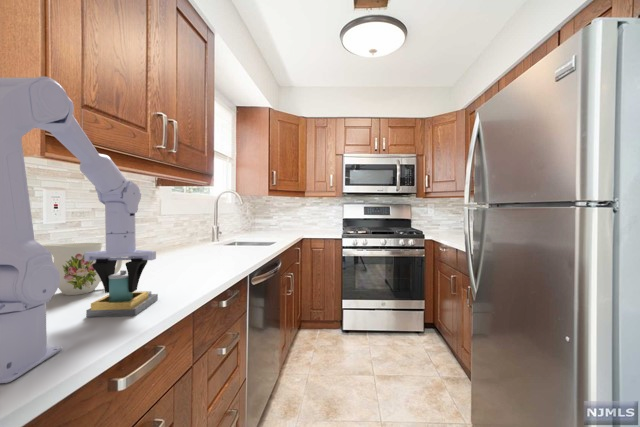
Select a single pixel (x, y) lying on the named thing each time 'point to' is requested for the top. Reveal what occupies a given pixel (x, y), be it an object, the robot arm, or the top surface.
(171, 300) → the top surface
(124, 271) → the spout can
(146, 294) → the gray yellow rectangular tray
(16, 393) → the top surface
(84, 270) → the pitcher
